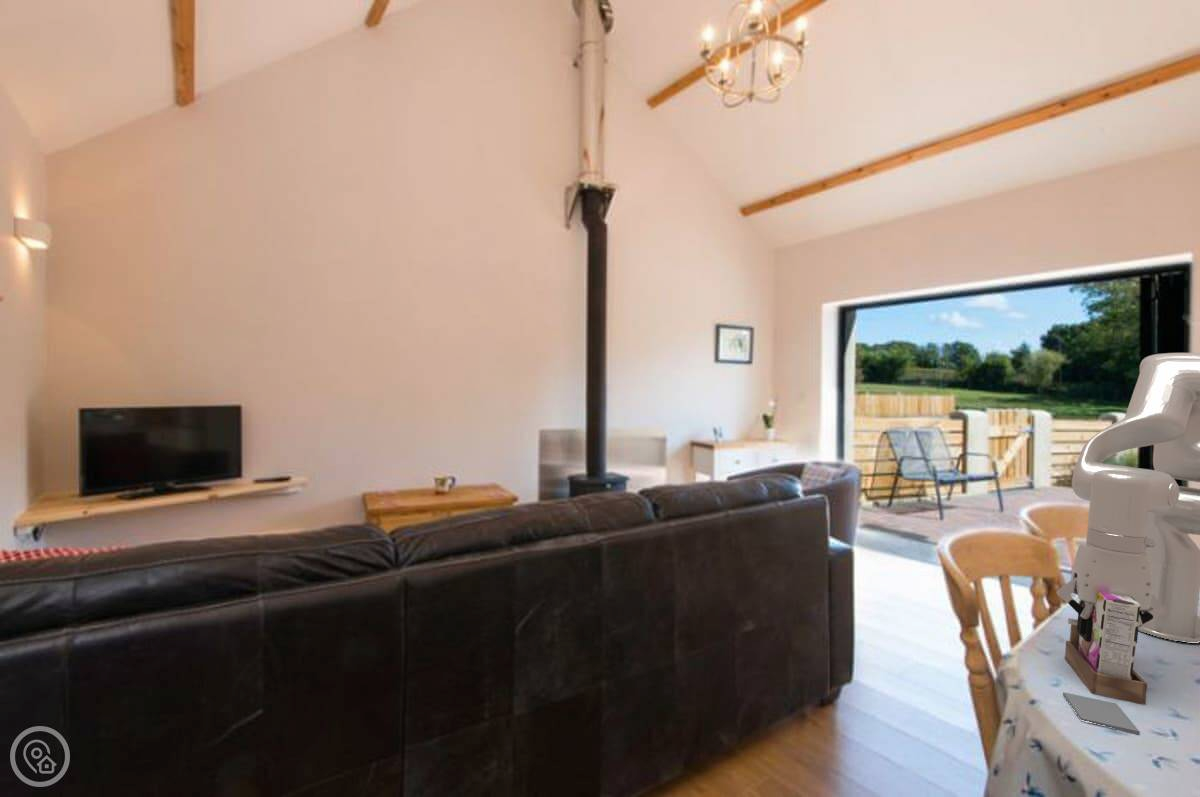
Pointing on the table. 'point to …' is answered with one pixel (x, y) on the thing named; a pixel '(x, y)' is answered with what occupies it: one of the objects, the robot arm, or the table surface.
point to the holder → (1101, 682)
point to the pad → (1101, 712)
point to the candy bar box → (1112, 635)
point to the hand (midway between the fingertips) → (1105, 641)
